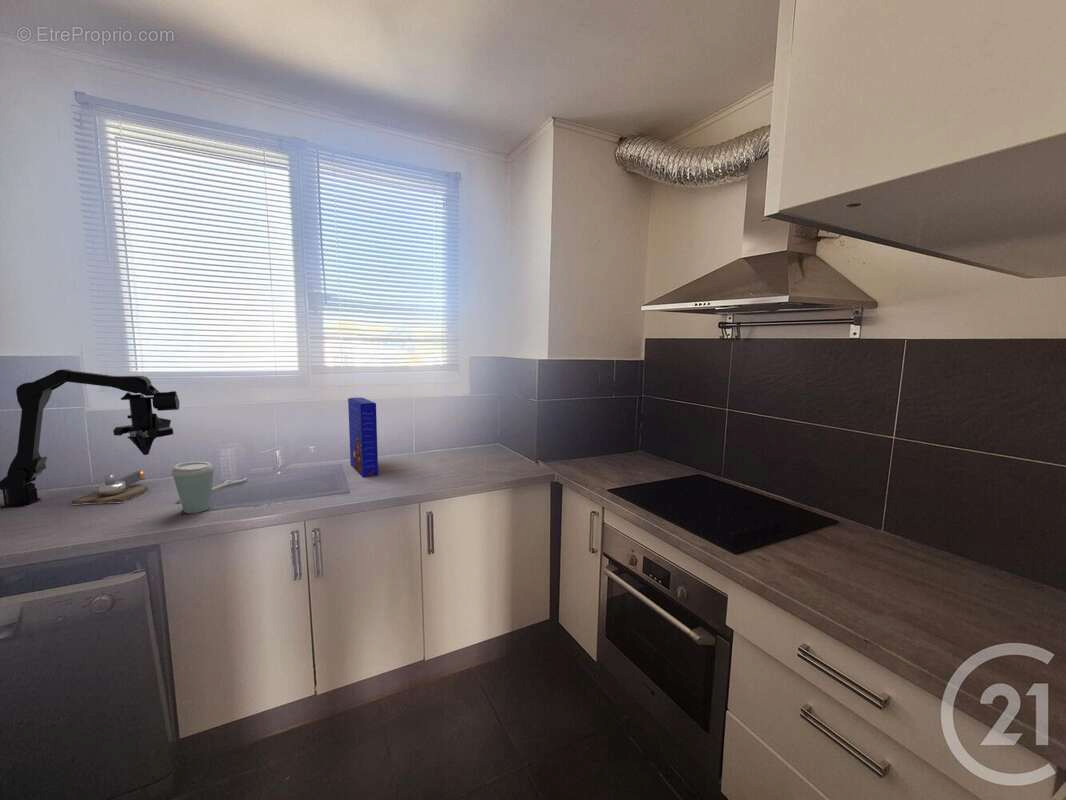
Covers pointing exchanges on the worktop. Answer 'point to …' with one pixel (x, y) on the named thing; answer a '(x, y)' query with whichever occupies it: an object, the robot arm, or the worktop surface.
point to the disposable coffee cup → (194, 485)
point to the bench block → (110, 496)
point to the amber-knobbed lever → (118, 483)
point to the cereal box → (363, 436)
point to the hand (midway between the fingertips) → (146, 454)
